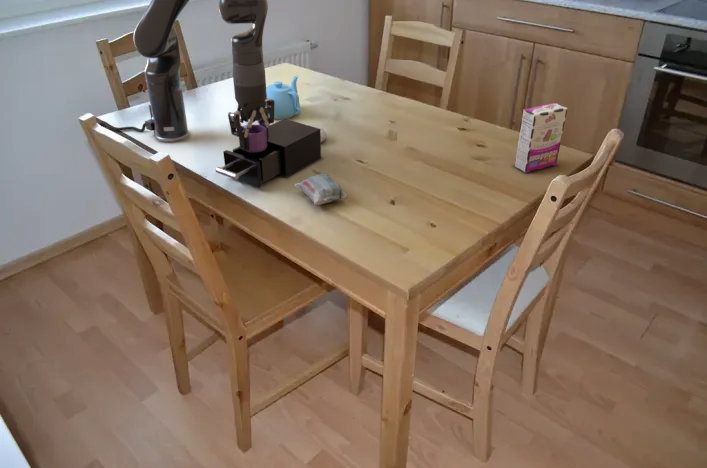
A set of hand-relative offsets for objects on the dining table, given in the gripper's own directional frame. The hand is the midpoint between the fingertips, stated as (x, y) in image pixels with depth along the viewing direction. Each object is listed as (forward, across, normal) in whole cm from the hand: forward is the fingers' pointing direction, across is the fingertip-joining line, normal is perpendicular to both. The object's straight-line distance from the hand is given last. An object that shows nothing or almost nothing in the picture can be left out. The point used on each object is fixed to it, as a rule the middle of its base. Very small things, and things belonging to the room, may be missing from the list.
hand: (254, 145), depth 147 cm
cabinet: (+9, +11, 0) cm, 14 cm away
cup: (+1, 0, 0) cm, 1 cm away
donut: (+9, +26, +4) cm, 28 cm away
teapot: (+9, +37, +26) cm, 46 cm away
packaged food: (+9, 0, -20) cm, 22 cm away
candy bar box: (+9, +50, -56) cm, 75 cm away
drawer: (+8, -1, 0) cm, 8 cm away
